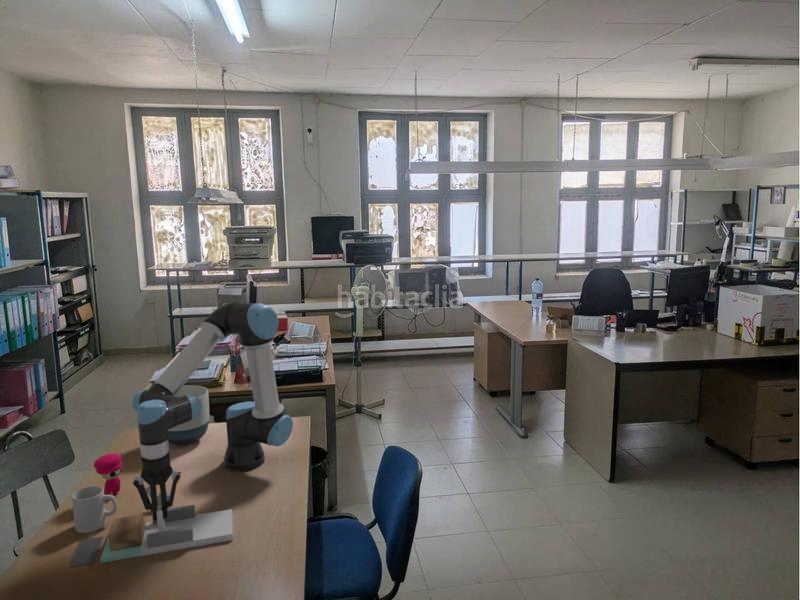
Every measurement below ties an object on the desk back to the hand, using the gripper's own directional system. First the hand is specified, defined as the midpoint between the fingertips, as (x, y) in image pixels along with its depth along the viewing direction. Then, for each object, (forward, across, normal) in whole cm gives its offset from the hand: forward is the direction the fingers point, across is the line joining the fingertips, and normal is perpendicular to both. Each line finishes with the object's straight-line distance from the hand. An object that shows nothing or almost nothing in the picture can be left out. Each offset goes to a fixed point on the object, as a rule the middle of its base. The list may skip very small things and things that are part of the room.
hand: (161, 528), depth 161 cm
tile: (+3, +10, 0) cm, 11 cm away
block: (+2, +9, 0) cm, 9 cm away
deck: (+3, -8, 0) cm, 8 cm away
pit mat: (+3, +20, 0) cm, 20 cm away
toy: (+3, +19, -31) cm, 36 cm away
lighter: (+4, +3, -19) cm, 19 cm away
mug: (+3, +20, -14) cm, 25 cm away
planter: (+4, -1, -70) cm, 70 cm away
